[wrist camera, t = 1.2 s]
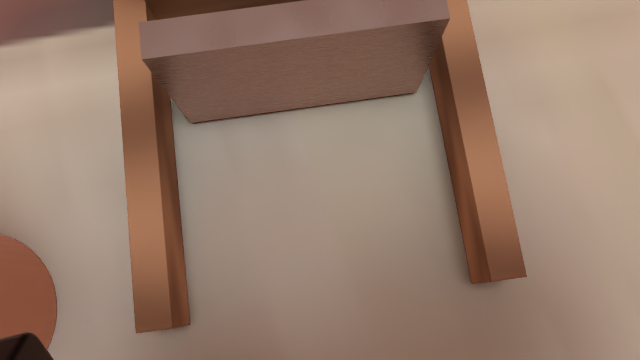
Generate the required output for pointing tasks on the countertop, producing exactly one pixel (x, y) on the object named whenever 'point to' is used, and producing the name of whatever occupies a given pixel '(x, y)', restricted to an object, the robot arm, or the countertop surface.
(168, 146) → the brown wooden frame
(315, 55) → the pusher
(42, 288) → the jar
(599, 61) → the countertop surface
